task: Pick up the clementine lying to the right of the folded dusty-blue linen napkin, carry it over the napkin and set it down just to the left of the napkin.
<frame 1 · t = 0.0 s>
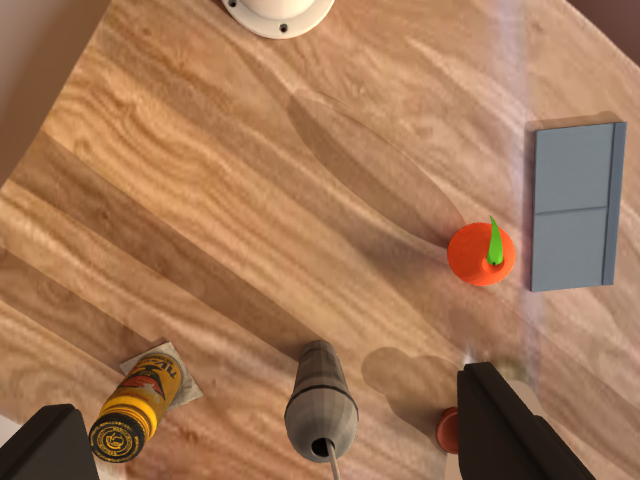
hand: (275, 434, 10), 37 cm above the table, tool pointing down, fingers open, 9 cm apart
pottery: (491, 439, 54), on the table
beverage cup: (318, 355, 50), on the table
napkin: (575, 210, 46), on the table
clementine: (467, 241, 47), on the table
condiment: (162, 378, 50), on the table
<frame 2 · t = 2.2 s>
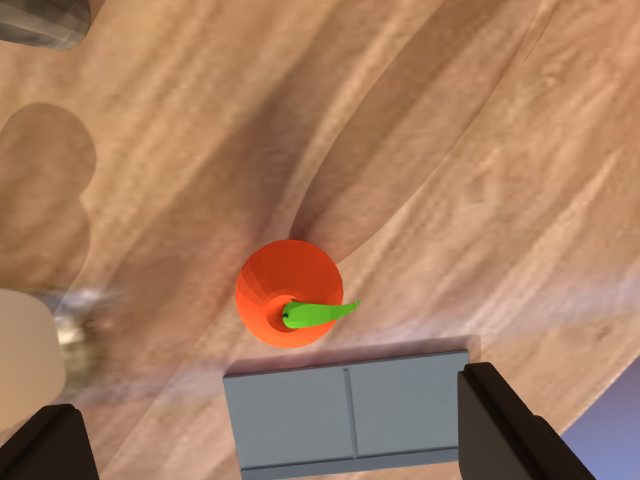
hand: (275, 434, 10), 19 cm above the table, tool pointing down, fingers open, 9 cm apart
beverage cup: (55, 11, 25), on the table
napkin: (350, 417, 32), on the table
clementine: (300, 274, 29), on the table
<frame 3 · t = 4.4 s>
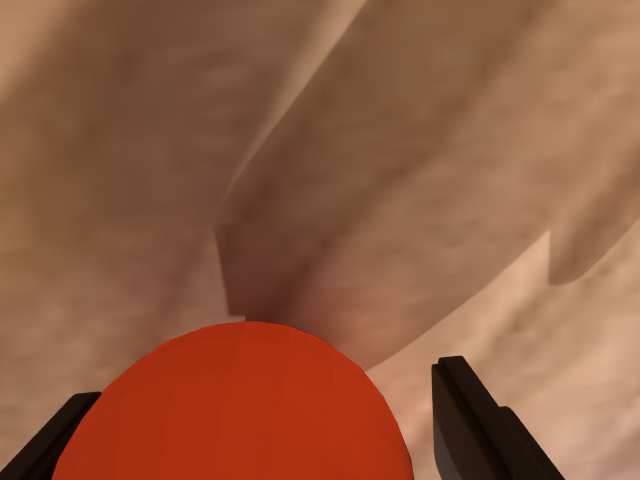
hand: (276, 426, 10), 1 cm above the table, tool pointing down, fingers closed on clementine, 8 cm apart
clementine: (281, 387, 12), on the table, touching gripper
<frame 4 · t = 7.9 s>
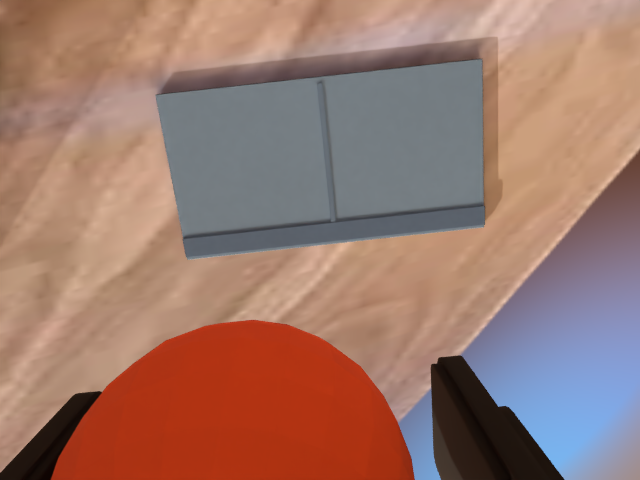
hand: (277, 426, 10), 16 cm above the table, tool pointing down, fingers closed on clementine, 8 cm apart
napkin: (327, 163, 24), on the table
clementine: (281, 386, 12), point 15 cm above the table, touching gripper
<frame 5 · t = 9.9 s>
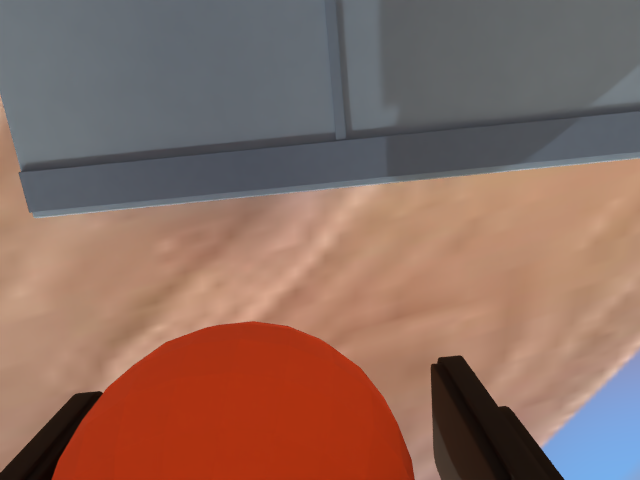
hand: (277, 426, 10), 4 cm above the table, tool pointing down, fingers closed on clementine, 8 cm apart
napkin: (329, 10, 11), on the table
clementine: (281, 388, 12), point 2 cm above the table, touching gripper
when the fingers open (1 cm above the table, at t = 11.3 s): clementine stays where it is, on the table.
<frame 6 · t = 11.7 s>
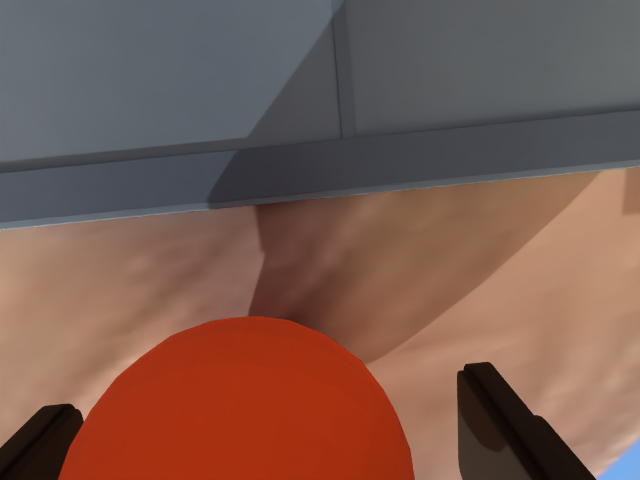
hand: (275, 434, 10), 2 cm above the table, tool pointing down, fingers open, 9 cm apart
clementine: (283, 382, 12), on the table
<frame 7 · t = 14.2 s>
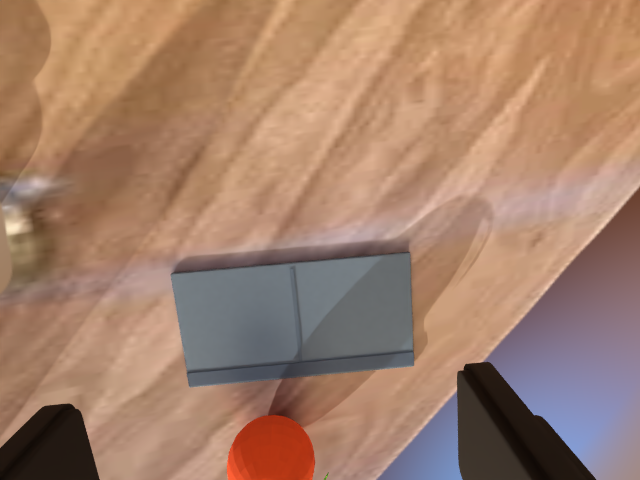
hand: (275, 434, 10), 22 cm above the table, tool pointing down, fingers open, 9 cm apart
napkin: (297, 320, 33), on the table
clementine: (280, 430, 35), on the table
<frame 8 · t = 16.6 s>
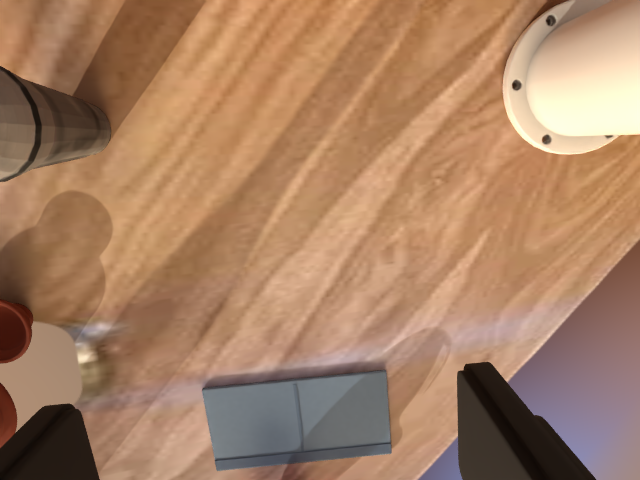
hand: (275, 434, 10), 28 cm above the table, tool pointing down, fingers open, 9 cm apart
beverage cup: (86, 129, 35), on the table
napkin: (299, 420, 42), on the table
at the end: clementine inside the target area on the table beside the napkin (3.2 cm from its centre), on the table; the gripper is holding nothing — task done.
